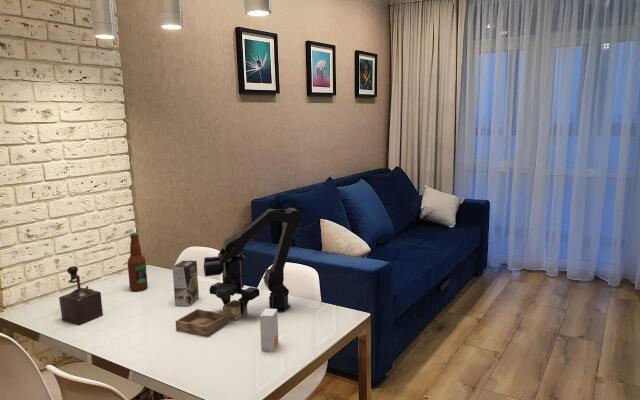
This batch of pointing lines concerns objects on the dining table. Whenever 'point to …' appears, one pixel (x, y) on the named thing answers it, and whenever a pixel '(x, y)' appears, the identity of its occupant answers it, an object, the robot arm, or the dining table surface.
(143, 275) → the bottle
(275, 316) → the skincare box
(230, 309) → the small crate
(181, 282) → the coffee box
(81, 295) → the manual coffee grinder
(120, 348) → the dining table surface
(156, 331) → the dining table surface
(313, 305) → the dining table surface
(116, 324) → the dining table surface
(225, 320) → the big crate
